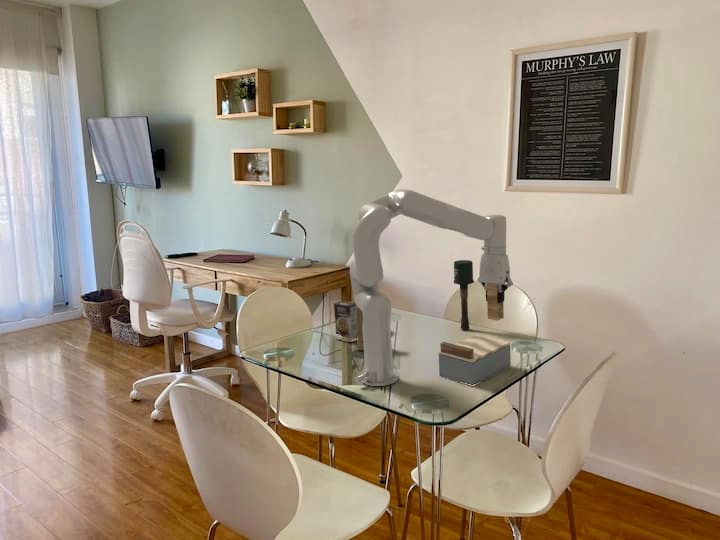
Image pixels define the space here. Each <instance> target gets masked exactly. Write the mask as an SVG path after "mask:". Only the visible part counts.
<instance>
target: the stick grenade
mask: <svg viewBox="0 0 720 540" xmlns="http://www.w3.org/2000/svg"><path fill="white" fill-rule="evenodd" d="M473 266H474V265H473V261H472V260H469V259H462V260H456V261H454V262H453V276H454V277H453V279H454V280H453V284H455V285H459V290H460V291H459V295H460V304H461V306H460V308H461V309H460V310H461V312H460V313H461V319H460V329H461V331H464V332H465V331H469V330H470V320H469V313H468V308H469V307H468V304H469V303H468V297H469V288H468V287H469V285H471V284H473V283H475V280H474V267H473Z"/></svg>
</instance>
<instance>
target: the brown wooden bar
mask: <svg viewBox="0 0 720 540" xmlns="http://www.w3.org/2000/svg"><path fill="white" fill-rule="evenodd" d="M498 292H499V289H498V284H492V283H487V301H486V303H487V305H486V306H487V307H486V308H487V319H488V320H492V321H501V319H504V318H505V316H504V315H505V313H504V308H505V307H504V302H502V303H498Z"/></svg>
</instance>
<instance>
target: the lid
mask: <svg viewBox="0 0 720 540" xmlns="http://www.w3.org/2000/svg"><path fill="white" fill-rule="evenodd" d="M508 345H510V346H511V342H510V341H506V340H503V339H498V338H493V337H489V336H486V335H485V336H484V335H480V334H475V335H473V336H470V337H469V338H466V339H463V340H461V341H458V342H457V343H451V342H450V343H449V342H447V341H446V342H445V341H442V342H440V345H439V346H440V350H438V355H439V354H442V355H446V356H450V357H454V358H457V359H461V360H465V361H468V362H472V363H473V362H475V361H477V360H479V359H481V358H483V357H485V356H487V355H489V354H491V353H493V352H496V351H498V350H500V349H502V348H504V347H506V346H508Z"/></svg>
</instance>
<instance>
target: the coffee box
mask: <svg viewBox="0 0 720 540" xmlns="http://www.w3.org/2000/svg"><path fill="white" fill-rule="evenodd" d="M356 306H357V305H356V303H355V301H354V302H353V301H347V300H342V301H338V302H335V303H334V304H333V307H334V308H333V309H334V321H335V322H334V323H335V325H334V326H335V335H336V334H339V335H341V336H343V337H346V338H349V339H351V340H352V339H354V338H357V337H358V335H357V321H356Z"/></svg>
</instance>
